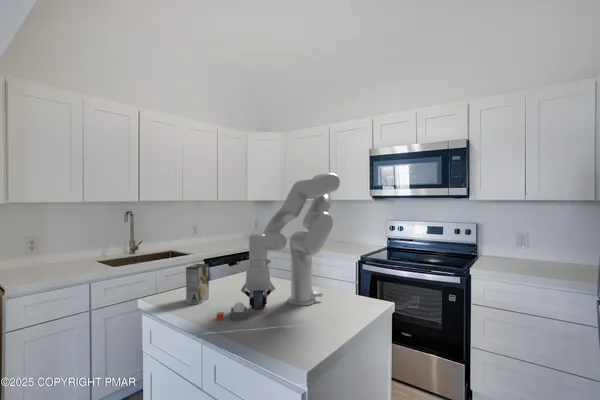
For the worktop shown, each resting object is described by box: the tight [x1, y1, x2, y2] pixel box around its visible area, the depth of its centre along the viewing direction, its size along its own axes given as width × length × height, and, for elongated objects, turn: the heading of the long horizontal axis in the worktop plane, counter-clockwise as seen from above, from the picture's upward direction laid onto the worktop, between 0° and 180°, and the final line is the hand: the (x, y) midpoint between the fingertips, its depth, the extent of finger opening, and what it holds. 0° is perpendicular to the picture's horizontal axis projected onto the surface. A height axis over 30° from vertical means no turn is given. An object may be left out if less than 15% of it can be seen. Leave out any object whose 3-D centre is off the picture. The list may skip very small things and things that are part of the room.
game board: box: [208, 304, 268, 321], centre depth 122 cm, size 23×14×3 cm, turn 102°
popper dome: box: [232, 301, 245, 313], centre depth 118 cm, size 4×4×5 cm
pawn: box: [252, 291, 264, 310], centre depth 127 cm, size 4×4×9 cm
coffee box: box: [185, 263, 210, 305], centre depth 138 cm, size 9×6×16 cm
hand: (258, 306), depth 127 cm, fingers closed on pawn, 4 cm apart
